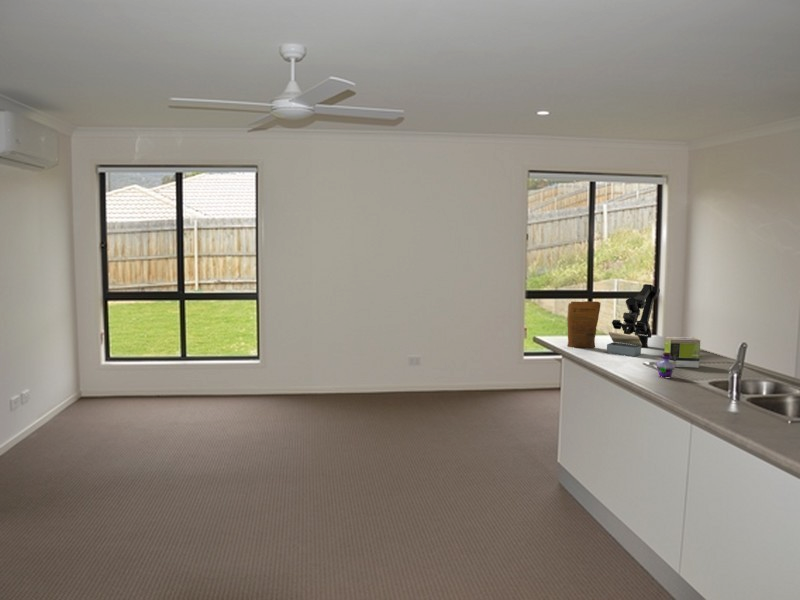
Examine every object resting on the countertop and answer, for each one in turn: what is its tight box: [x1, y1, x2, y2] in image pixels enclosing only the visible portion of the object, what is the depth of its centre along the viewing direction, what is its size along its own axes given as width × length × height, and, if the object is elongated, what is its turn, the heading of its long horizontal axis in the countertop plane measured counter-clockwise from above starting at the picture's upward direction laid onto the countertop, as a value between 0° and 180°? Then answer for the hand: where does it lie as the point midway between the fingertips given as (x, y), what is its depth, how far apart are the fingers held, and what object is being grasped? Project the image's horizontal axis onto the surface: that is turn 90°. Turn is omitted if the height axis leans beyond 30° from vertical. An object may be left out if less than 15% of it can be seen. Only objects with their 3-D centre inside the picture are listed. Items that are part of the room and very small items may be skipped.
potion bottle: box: [656, 351, 676, 378], centre depth 305 cm, size 9×9×12 cm
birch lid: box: [608, 331, 642, 346], centre depth 362 cm, size 10×16×1 cm
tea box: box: [663, 336, 701, 369], centre depth 332 cm, size 15×10×15 cm
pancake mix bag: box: [566, 300, 601, 349], centre depth 377 cm, size 7×19×28 cm, turn 83°
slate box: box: [606, 341, 642, 358], centre depth 362 cm, size 10×16×5 cm, turn 51°
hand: (624, 337), depth 361 cm, fingers closed, pressing on birch lid
